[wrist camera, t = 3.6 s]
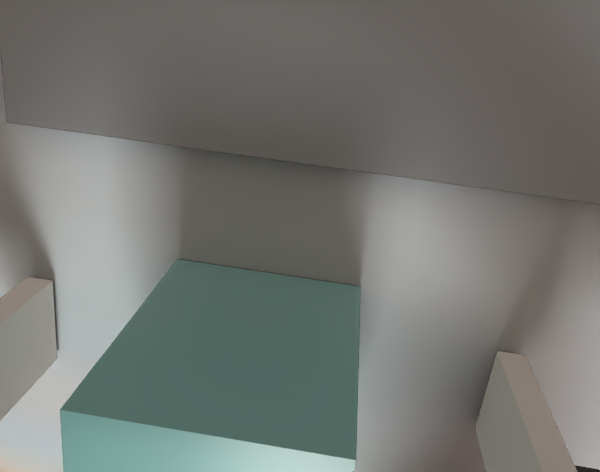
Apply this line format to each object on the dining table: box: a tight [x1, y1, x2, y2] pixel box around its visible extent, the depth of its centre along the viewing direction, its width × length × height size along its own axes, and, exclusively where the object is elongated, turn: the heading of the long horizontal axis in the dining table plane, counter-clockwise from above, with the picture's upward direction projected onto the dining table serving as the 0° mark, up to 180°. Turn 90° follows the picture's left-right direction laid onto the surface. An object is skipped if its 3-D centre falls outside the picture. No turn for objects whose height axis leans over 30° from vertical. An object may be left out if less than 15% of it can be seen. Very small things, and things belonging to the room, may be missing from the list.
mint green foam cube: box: [60, 259, 361, 472], centre depth 14 cm, size 5×5×7 cm
